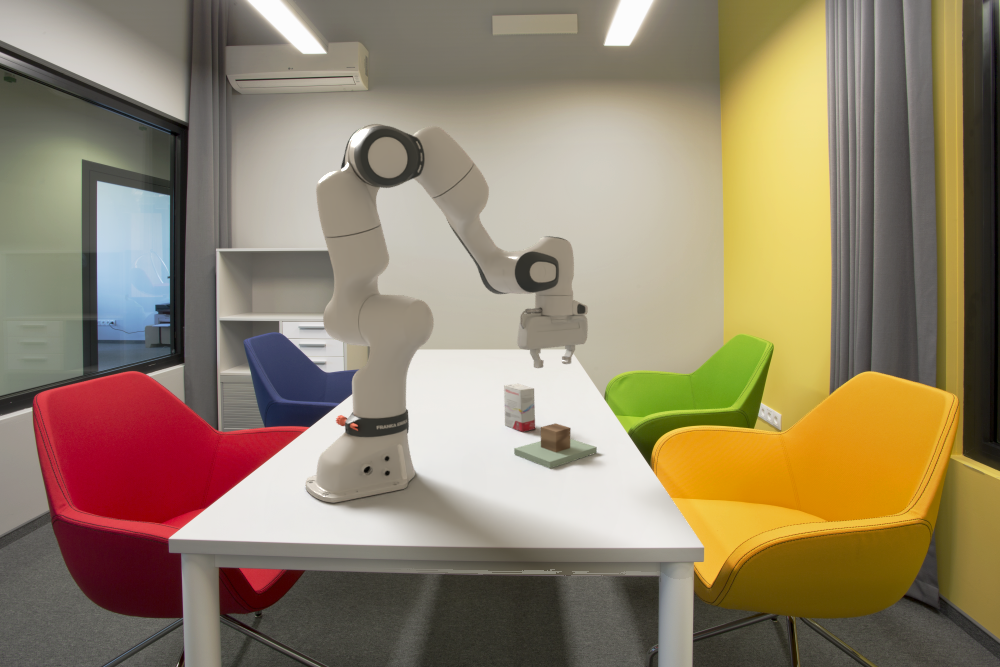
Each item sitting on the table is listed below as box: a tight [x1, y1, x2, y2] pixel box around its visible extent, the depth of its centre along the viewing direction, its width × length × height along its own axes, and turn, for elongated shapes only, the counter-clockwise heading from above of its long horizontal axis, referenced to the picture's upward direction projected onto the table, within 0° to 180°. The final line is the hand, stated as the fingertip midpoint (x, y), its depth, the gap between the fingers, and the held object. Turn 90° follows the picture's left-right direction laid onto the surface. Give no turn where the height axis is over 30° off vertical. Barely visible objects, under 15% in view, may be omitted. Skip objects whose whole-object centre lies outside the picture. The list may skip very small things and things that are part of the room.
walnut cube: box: [540, 422, 572, 452], centre depth 130 cm, size 5×5×5 cm
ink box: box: [503, 383, 536, 433], centre depth 151 cm, size 9×5×12 cm, turn 34°
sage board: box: [513, 438, 598, 469], centre depth 130 cm, size 16×12×2 cm
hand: (552, 365), depth 128 cm, fingers open, 8 cm apart
